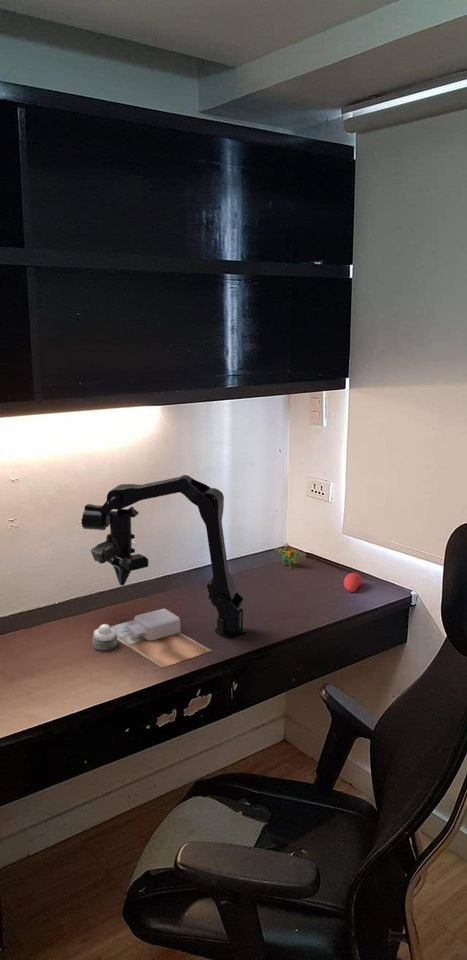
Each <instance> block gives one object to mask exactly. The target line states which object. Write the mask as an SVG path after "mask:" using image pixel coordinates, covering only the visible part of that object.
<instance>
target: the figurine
mask: <svg viewBox="0 0 467 960" xmlns="http://www.w3.org/2000/svg"><path fill="white" fill-rule="evenodd" d="M289 546H290V545H289V543H285V545H284V549H282V548H281V547H280V548H278V547H276V548H274V550H275V551H277V552H278V553H279V554H281V555H282V556H281V557H282V565H283V567H288V566H289V567H290V569H291V570H292V569H293V568H294V569H295V568H296V566H295V564H297V563H300V561H299V560H300V559H301V556H300V552H299V551H297V550H296V549H291V547H289ZM285 563H286V564H285Z"/></svg>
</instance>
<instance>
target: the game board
mask: <svg viewBox="0 0 467 960" xmlns="http://www.w3.org/2000/svg"><path fill="white" fill-rule="evenodd" d="M131 625H134V619H132V620H129V621H125V622H122V623H118V624H115V625H112V626H111V625H110V627H111V628H113V629H115V631H116V637H115V638H114V639H113V640H110V641H97V640H95V639H94V635H93V636H92V648H93V649H94V650H96V651H110V650H114V649H116V648H117V647H118V642H120V643H121V644H123V645H125V646H126V647H128V648H129V649H131V650H133V651H134V652H136V653H137V654H139V655H140V656H142V657H143V658H145V659H147V660H148V661H149V662H150V663H152V664H154V665H156V667H157V666H158V667H159V668H160V669H164V668H167V667H171V666H173V665H175V664H178V663H182V662H184V661H187V660H190V659H193V658H196V657H199V656H202V655H204V654H208V653H210V652H211V653H212V651H213V650H212V649H211V648H209V647H207V646H204V645H203V644H202V643H199V642H197V641H196V640H194V639H192V638H191V637H189V636H187V635H185V634H183V633H181V632H180V633H178V634H174V635H170V636H167V637H163V638H160V639H156V640H152V641H150V640H146V639H145V638H144V637H142V636H141V635H139V636H135V637H131V636H130V635H128V634H127V635H124V634H125V633H127V632H123V633H121V631H124V630H125V627H127V626H131Z"/></svg>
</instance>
